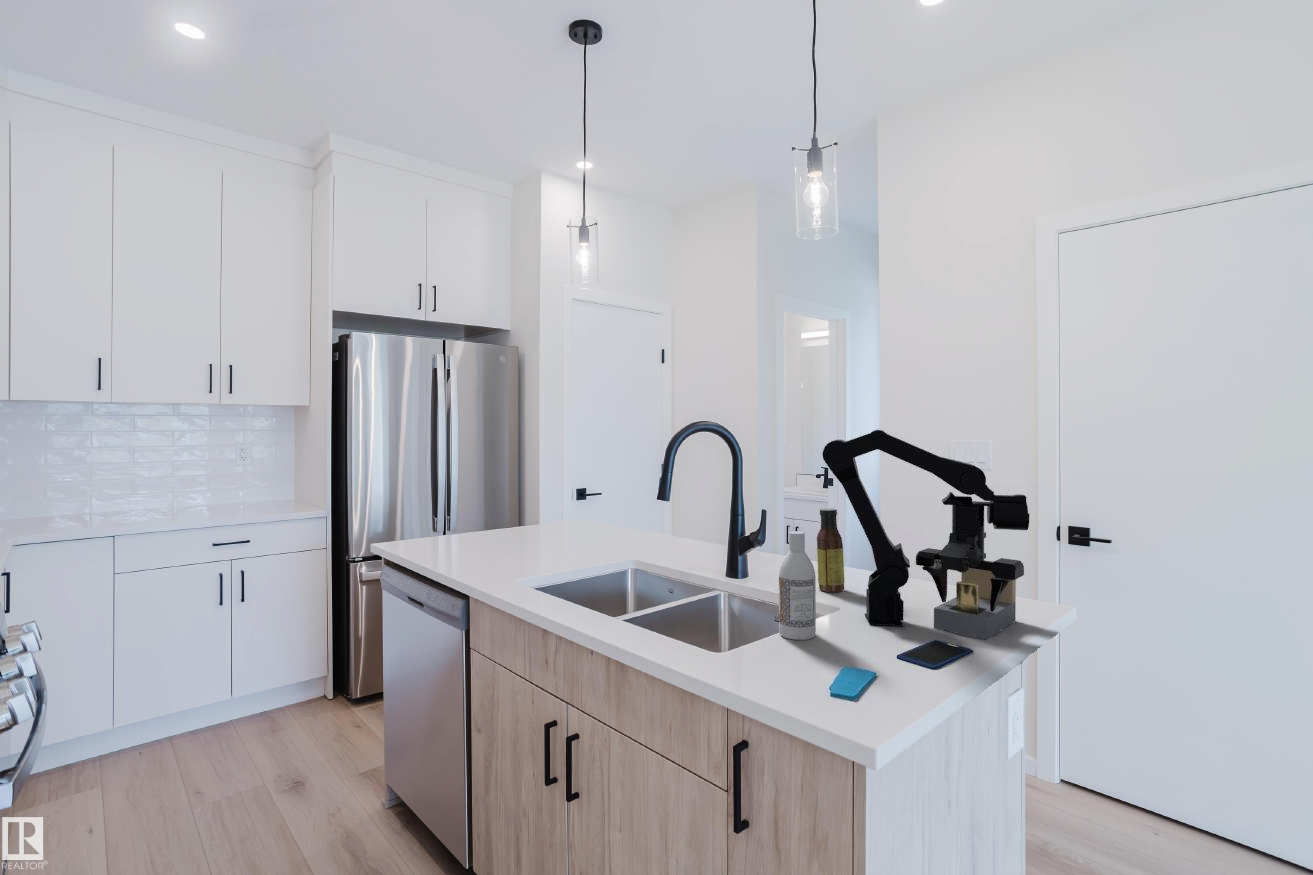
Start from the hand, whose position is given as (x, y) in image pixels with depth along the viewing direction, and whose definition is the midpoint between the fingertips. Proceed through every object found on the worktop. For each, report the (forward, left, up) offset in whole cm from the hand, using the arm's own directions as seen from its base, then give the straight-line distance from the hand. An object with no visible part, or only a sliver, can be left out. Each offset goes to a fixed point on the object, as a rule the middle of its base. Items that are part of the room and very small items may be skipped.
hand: (967, 606), depth 129 cm
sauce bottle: (-23, +27, -5) cm, 36 cm away
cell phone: (-10, -16, -5) cm, 19 cm away
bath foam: (-33, -8, -5) cm, 35 cm away
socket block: (+2, +3, -4) cm, 6 cm away
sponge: (-27, -31, -5) cm, 41 cm away
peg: (0, 0, -4) cm, 4 cm away
